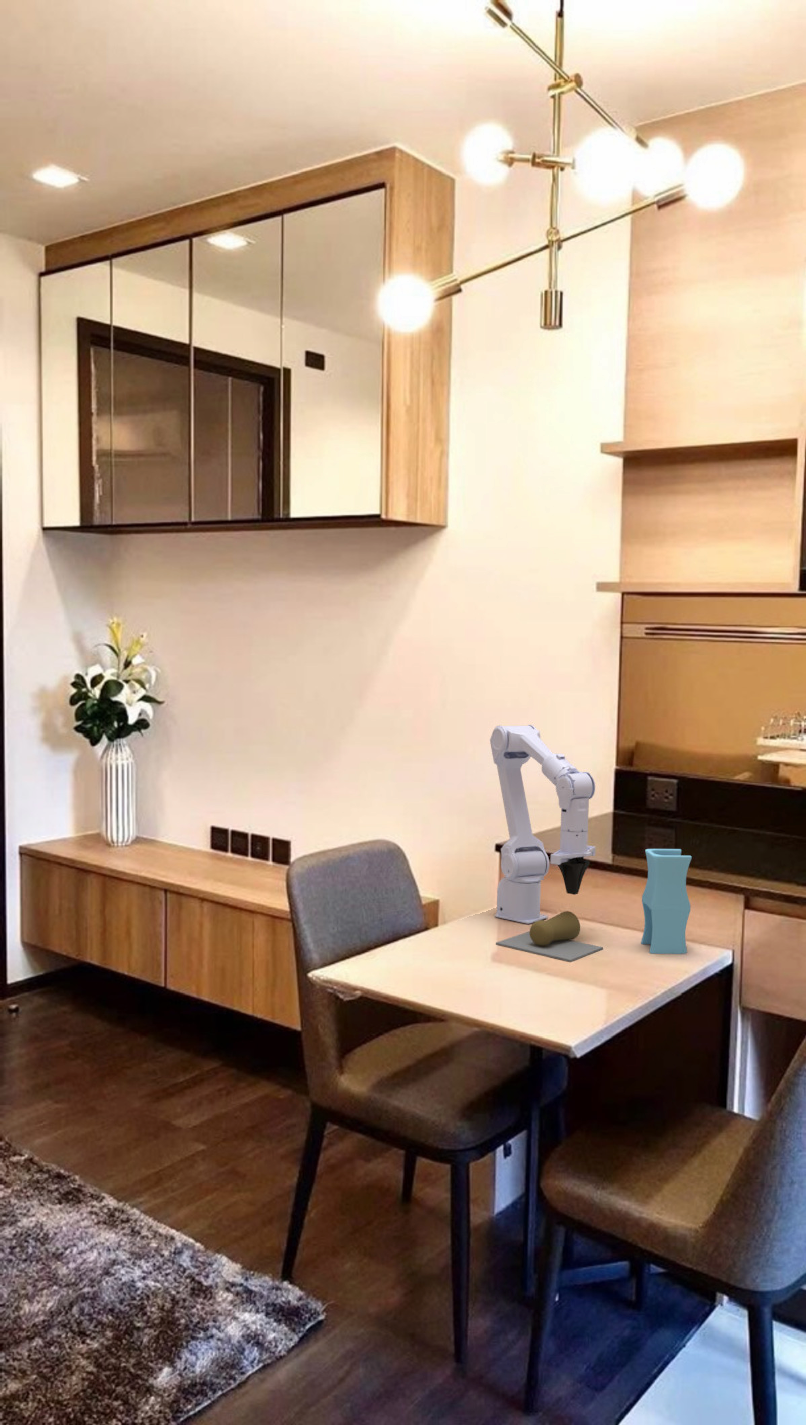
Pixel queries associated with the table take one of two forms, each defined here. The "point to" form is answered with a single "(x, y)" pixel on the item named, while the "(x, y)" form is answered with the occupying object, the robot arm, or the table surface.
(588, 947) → the mat
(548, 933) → the olive waisted cylinder
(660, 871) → the vase
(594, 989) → the table surface
